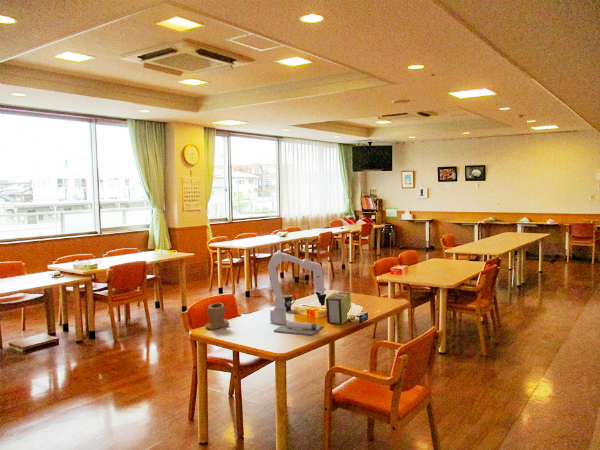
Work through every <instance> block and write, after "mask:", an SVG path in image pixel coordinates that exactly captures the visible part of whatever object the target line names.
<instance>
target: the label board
mask: <svg viewBox="0 0 600 450" xmlns="http://www.w3.org/2000/svg"><path fill="white" fill-rule="evenodd" d="M323 326H324V325H322V324H321V325H320V324H316V330H309V329H298V328H287V327H286V323H285V324H280V326H278V327H276V328H275V329H274V330H273V332H274V333H280V334H290V335H292V334H293V335H300V336H311V337H312V336H313V335H315V334H316V333H317V332H319V331H320V330H321V329H322V328H324V327H323Z"/></svg>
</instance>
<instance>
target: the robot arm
mask: <svg viewBox="0 0 600 450" xmlns="http://www.w3.org/2000/svg"><path fill="white" fill-rule="evenodd" d="M282 262H283V263H284V262H285V263H286V262H291V263H295V264H297V265H300V267H301V268H302V269H305V270H308V271H311V272H312V273H313V281H314V282H313V283H314V289H315V292H314V293H315V294H316V297H317V300H318V303H319V304H320V306H321V307H324V306H326V298H327V294H326V293H325V291H327V288H325V284H324V283H325V281H324V276H323V267H322V265H321V264H320V263H318V262H316V261H311V260H309V258H303V259H301V258H298V257H296V256H294V255H291V254H289V253H285V252H281V251H276V252H274V253H273V254H272V256H271V258H270V260H269V263H268V266H267V270H268V275H269V279H270V282H271V286H272V287H271V288H272V290H273V295H274V296H273V297H274V307H272V308H270V312H269V313H270V314H269V317H270V318H269V319H270V320H269V323H270V324H276V325H283V324H285V323H286V322H288V321H289V319H287V311H286V307H285V299H284V298H283V296H282V295H283V293H282V290H281V285H280V281H279V277H278V276H279V275H278V273H277V267H278V265H280V264H281V263H282ZM289 322H290V321H289Z"/></svg>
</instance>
